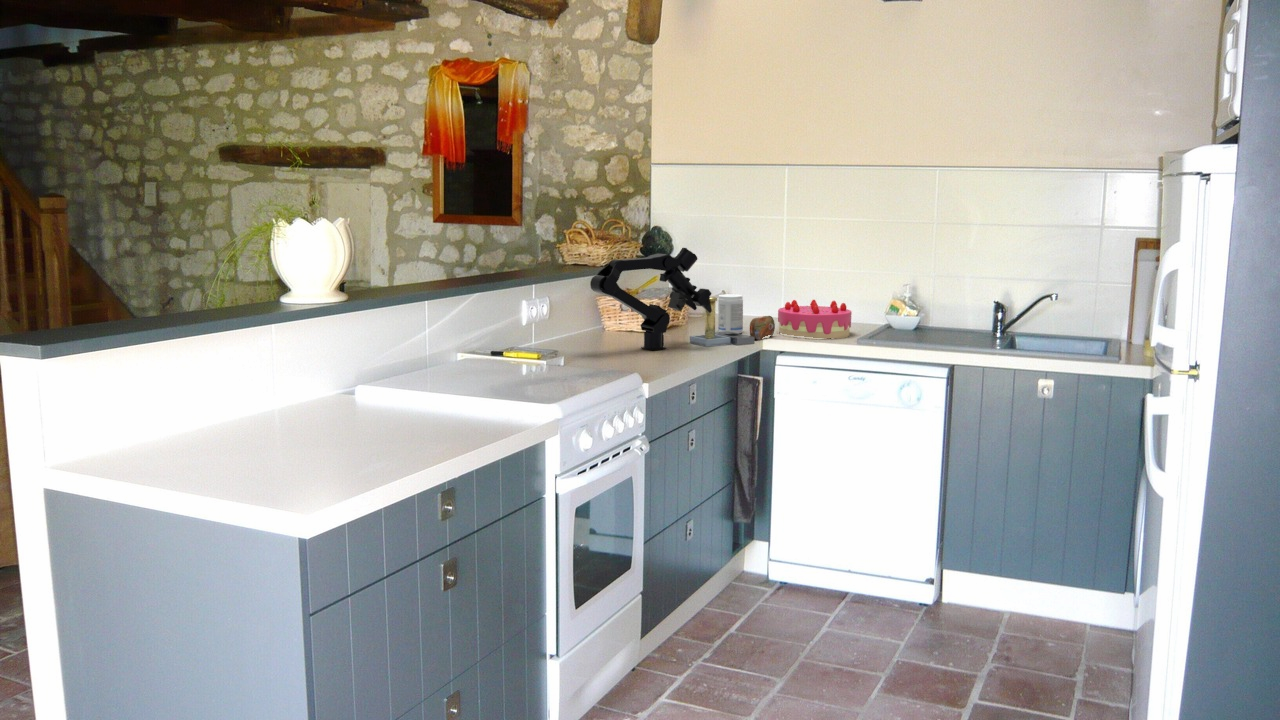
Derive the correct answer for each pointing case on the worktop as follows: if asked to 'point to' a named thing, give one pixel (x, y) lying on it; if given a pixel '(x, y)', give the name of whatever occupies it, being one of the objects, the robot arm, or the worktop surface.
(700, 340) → the tray
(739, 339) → the hitch plate
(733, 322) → the supplement tub
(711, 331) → the pin
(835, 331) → the cake
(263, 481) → the worktop surface
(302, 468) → the worktop surface
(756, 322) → the tin
